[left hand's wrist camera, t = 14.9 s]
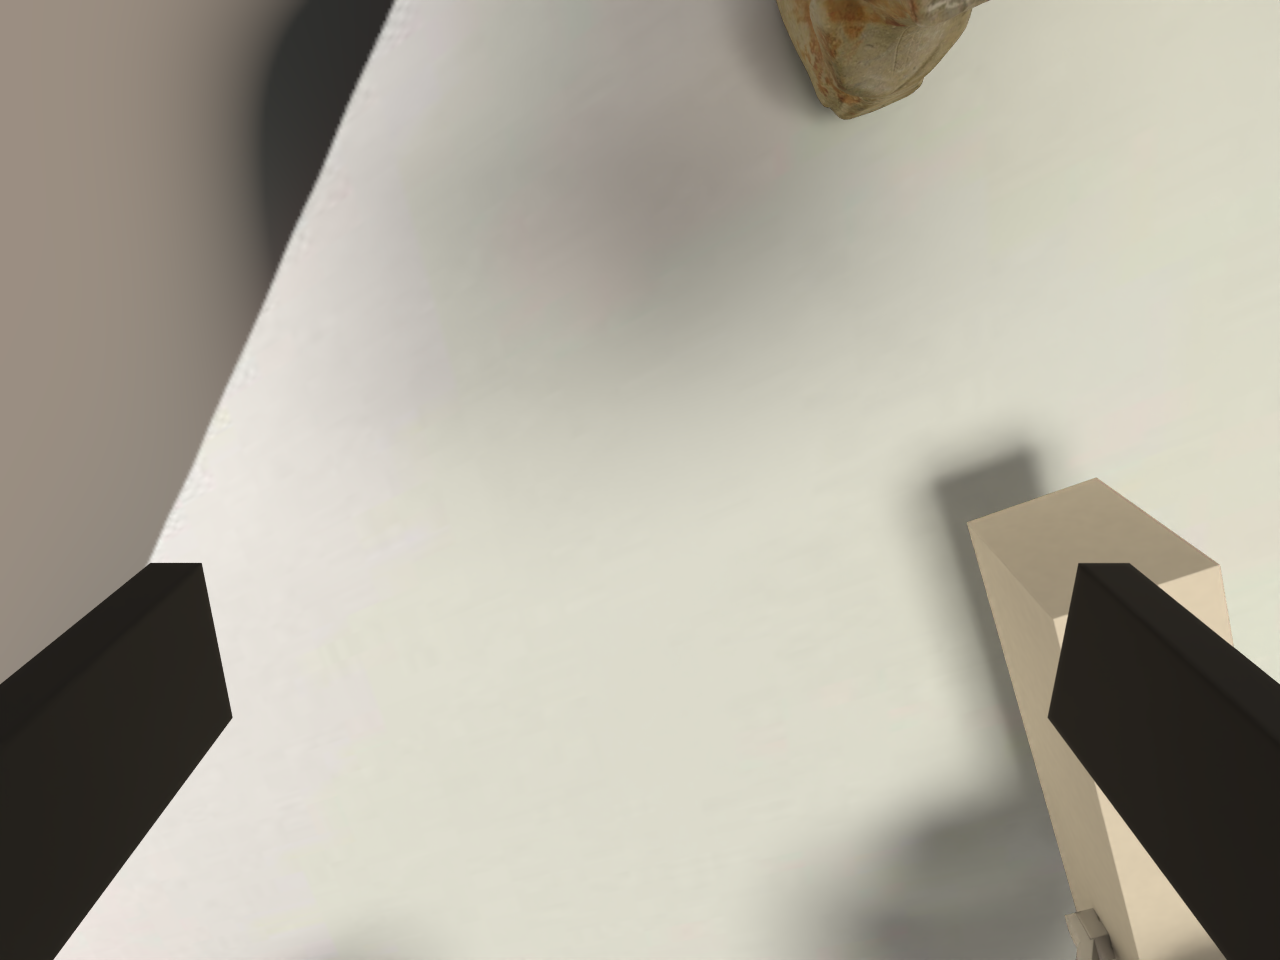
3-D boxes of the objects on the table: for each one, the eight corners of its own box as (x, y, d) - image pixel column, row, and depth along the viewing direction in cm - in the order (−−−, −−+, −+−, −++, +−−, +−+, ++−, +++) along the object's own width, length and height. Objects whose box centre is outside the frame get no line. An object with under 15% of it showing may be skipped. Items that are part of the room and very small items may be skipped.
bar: (966, 521, 38) (1052, 619, 30) (1096, 476, 37) (1220, 564, 29) (1076, 911, 47) (1166, 1067, 39) (1184, 881, 46) (1299, 1034, 38)
